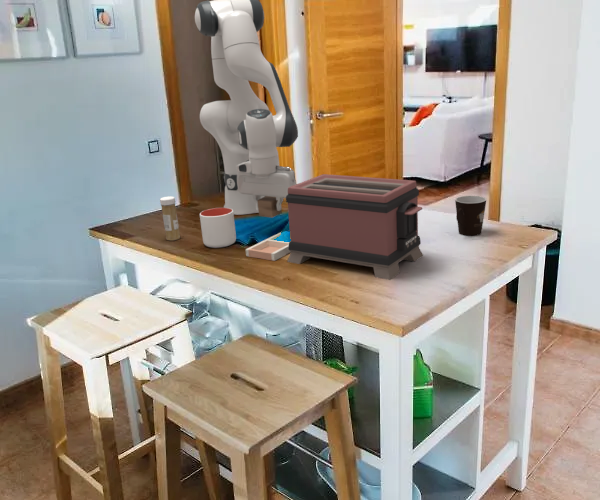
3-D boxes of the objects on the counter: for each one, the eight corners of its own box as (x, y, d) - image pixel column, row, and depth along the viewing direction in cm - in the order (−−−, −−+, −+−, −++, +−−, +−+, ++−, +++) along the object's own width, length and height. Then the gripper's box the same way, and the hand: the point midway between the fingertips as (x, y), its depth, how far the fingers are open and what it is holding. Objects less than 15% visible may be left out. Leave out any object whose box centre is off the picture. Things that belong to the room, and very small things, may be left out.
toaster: (401, 282, 144) (399, 198, 137) (286, 262, 163) (280, 188, 156) (433, 257, 158) (433, 180, 152) (325, 241, 178) (321, 172, 171)
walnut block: (268, 211, 189) (266, 195, 187) (281, 212, 186) (280, 197, 184) (259, 215, 185) (257, 200, 183) (272, 217, 182) (270, 201, 181)
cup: (241, 238, 186) (237, 207, 183) (229, 249, 177) (225, 216, 174) (211, 238, 189) (207, 207, 185) (198, 248, 179) (193, 216, 176)
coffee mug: (472, 226, 180) (473, 194, 177) (491, 233, 173) (492, 199, 170) (440, 233, 176) (440, 200, 173) (458, 241, 169) (458, 206, 166)
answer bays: (284, 236, 184) (284, 230, 184) (312, 240, 179) (311, 234, 178) (246, 256, 170) (245, 249, 169) (274, 260, 164) (274, 253, 164)
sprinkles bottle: (182, 238, 190) (176, 197, 186) (169, 242, 188) (162, 200, 184) (177, 235, 194) (171, 195, 190) (163, 238, 192) (157, 197, 187)
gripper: (299, 164, 177) (303, 209, 182) (244, 161, 187) (249, 203, 192) (287, 169, 172) (292, 215, 177) (231, 166, 183) (237, 209, 188)
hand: (269, 209), depth 185 cm, fingers closed on walnut block, 5 cm apart
